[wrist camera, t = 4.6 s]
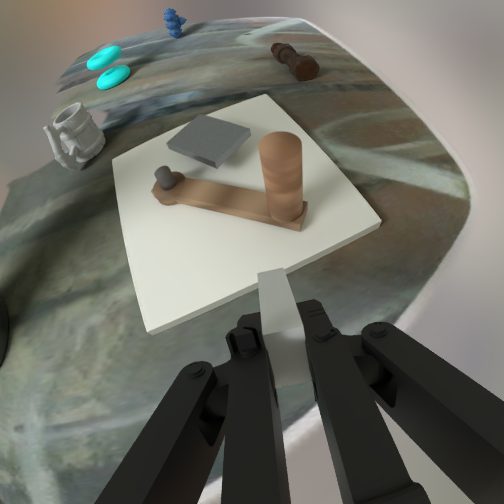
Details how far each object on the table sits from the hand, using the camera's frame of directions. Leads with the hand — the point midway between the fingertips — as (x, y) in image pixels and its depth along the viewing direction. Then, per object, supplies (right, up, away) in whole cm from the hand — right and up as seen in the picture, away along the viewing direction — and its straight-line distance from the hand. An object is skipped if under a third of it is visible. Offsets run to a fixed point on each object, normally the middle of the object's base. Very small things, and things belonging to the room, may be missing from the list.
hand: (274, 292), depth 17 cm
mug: (-33, +20, +31) cm, 49 cm away
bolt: (+7, +41, +36) cm, 55 cm away
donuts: (-38, +49, +47) cm, 78 cm away
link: (-5, +8, +18) cm, 20 cm away
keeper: (-7, +15, +24) cm, 29 cm away
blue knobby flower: (-24, +71, +56) cm, 94 cm away
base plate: (-5, +11, +21) cm, 24 cm away
